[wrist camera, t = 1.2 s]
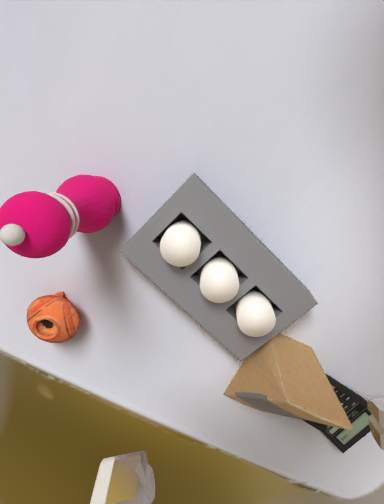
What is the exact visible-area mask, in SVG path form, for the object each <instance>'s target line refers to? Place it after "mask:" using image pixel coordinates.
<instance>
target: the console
mask: <svg viewBox="0 0 384 504" xmlns="http://www.w3.org/2000/svg"><path fill="white" fill-rule="evenodd" d="M180 220H185V221H189V222H192V223H193V224H194V225H195V226H196V227H197V228H198V229H199V230H200V233H201V247H200V253H199V256H198V258H197V259H196V260H195V261H194V262H193V263H192V264H190V265H188V266H184V267H178V266H174V265H171V264H169V263H168V262H167V261H166V260H165V259H164V258H163V257H162V255H161V252H160V241H161V239H162V237H163V235H164V234H165V232H166V230H167V229H168V227H169V226H170V225H171V224H172V223H174V222H176V221H180ZM119 252H121V253H122V254H123V255H124V256H125V257H126V258H127V259H128V260H129V261H130V262H131V263H133V264H134V265H135V266H136V267H137V268H138V269H139V270H140V271H141V272H142V273H144V274H145V275H146V276H147V277H148V278H149V279H150V280H151V281H152V282H154V283H155V284H156V285H157V286H158V287H159V288H160V289H161V290H162V291H164V292H165V293H166V294H167V295H168V296H169V297H170V298H171V299H172V300H174V301H175V302H176V303H177V304H178V305H179V306H180V307H181V308H182V309H183V310H184V311H186V312H187V313H188V314H189V315H190V316H191V317H192V318H193V319H195V320H196V321H197V322H198V323H199V324H200V325H201V326H202V327H203V328H205V329H206V330H207V331H208V332H209V333H210V334H211V335H212V336H213V337H214V338H216V339H217V340H218V341H219V342H220V343H221V344H222V345H223V346H224V347H226V348H227V349H228V350H229V351H230V352H231V353H232V354H233V355H234V356H236V357H237V358H238V359H239V360H240V361H242V360H243V359H245V358H246V357H247V356H249V355H250V354H251V353H253V352H254V351H255V350H257V349H258V348H259V347H261V346H262V345H263V344H265V343H266V342H267V341H269V340H270V339H271V338H273V337H274V336H275V335H277V334H278V333H279V332H281V331H282V330H283V329H285V328H286V327H287V326H289V325H290V324H291V323H293V322H294V321H295V320H297V319H298V318H299V317H301V316H302V315H303V314H305V313H306V312H307V311H309V310H310V309H311V308H313V307H314V306H315V305H317V304H318V303H317V302H316V300H315V299H314V297H313V296H312V294H311V293H310V291H309V290H308V289H307V288H306V287H305V286H304V285H303V284H302V283H301V282H300V281H299V280H298V279H297V278H296V277H295V276H294V275H293V274H292V273H291V272H290V271H289V270H288V269H287V268H286V267H285V266H284V264H283V263H282V262H281V261H280V260H279V259H278V258H277V257H276V256H275V255H274V254H273V253H272V252H271V251H270V250H269V249H268V248H267V247H266V246H265V245H264V244H263V243H262V242H261V241H260V240H259V239H258V238H257V237H256V236H255V235H254V234H253V233H252V232H251V231H250V230H249V229H248V227H247V226H246V225H245V224H244V223H243V222H242V221H241V220H240V219H239V218H238V217H237V216H236V215H235V214H234V213H233V212H232V211H231V210H230V209H229V208H228V207H227V206H226V205H225V204H224V203H223V202H222V201H221V200H220V199H219V198H218V197H217V196H216V195H215V194H214V193H213V192H212V191H211V189H210V188H209V187H208V186H207V185H206V184H205V183H204V182H203V181H202V180H201V179H200V178H199V177H198V176H197V175H196V174H195V173H194V174H193V175H192V176H191V177H190V178H189V179H188V180H187V181H186V182H185V183H184V184H183V185H182V186H181V187H180V188H179V189H178V190H177V191H176V192H175V193H174V194H173V195H172V196H171V198H170V199H169V200H168V201H167V202H166V203H165V204H164V205H163V206H162V207H161V208H160V209H159V210H158V211H157V212H156V213H155V214H154V215H153V216H152V217H151V218H150V219H149V220H148V221H147V223H146V224H145V225H144V226H143V227H142V228H141V229H140V230H139V231H138V232H137V233H136V234H135V235H134V236H133V237H132V238H131V239H130V240H129V241H128V242H127V243H126V244H125V245H124V247H123V248H122V249H121V250H120V251H119ZM214 256H224V257H227V258H229V259H230V260H231V261H232V262H233V263H234V264H235V266H236V269H237V274H238V279H239V290H238V293H237V294H236V296H235V297H234V298H233V299H231V300H230V301H227V302H224V303H215V302H212V301H210V300H208V299H207V298H205V297H204V295H203V294H202V292H201V290H200V277H201V269H202V266H203V264H205V263H206V262H207V261H208V260H209V259H210V258H211V257H214ZM251 289H255V290H260V291H262V292H263V293H264V294H265V295H266V296H267V297H268V298H269V300H270V303H271V306H272V308H273V311H274V314H275V317H276V323H275V326H274V328H273V329H272V331H271V332H269V333H268V334H266V335H264V336H261V337H252V336H248V335H246V334H244V333H243V332H242V331H241V330H240V329H239V327H238V323H237V316H236V309H235V302H236V301H237V300H238V299H240V298H241V297H242V296H243V295H244V294H246V293H247V292H248V291H249V290H251Z"/></svg>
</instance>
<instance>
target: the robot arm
mask: <svg viewBox="0 0 384 504" xmlns="http://www.w3.org/2000/svg"><path fill="white" fill-rule="evenodd" d="M367 406H368V410H369V411H370V412H371V415H370V417H369V418H368V420H369V427H370V430H371V432H372V435H373V437H374V439H375V440H376V442H377V444H378V445H379V446H380V448H381V449H383V450H384V397H380V398H375V399H371V400H368V403H367ZM147 458H148V457H147V455H146V453H145V451H140V452H135V453H130V454H125V455H120V456H115V457H110V458H105V459H103V460H102V462H101V464H100V467H99V471H98V475H97V479H96V483H95V486H94V491H93V494H92V498H91V502H90V504H151V503H152V501H153V500H154V497H155V483H154V475H153V471H152V468H151V466H149V465H148V464H147Z"/></svg>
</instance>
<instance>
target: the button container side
mask: <svg viewBox="0 0 384 504" xmlns="http://www.w3.org/2000/svg"><path fill="white" fill-rule="evenodd" d="M235 309H236V316H237V323H238V327H239V329H240V330H241V331H242V332H243V333H244V334H246V335H248V336H252V337H261V336H264V335H266V334H268V333H269V332H271V331H272V329H273V328H274V326H275V323H276V317H275V314H274V311H273V308H272V306H271V303H270V300H269V298H268V297H267V296H266V295H265V294H264V293H263V292H262V291H260V290H255V289H251V290H249V291H248V292H247V293H246V294H244V295H243V296H242V297H241V298H240V299H238V300H237V301H236V302H235Z"/></svg>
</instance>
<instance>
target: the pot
mask: <svg viewBox="0 0 384 504" xmlns="http://www.w3.org/2000/svg"><path fill="white" fill-rule="evenodd" d="M63 295H64V292H59V293H57V294H55V295H47V296H42V297H39V298H37V299H36V300H34V301H33V302H32V303H31V304H30V306H29V308H28V310H27V323H28V326H29V329H30V330H31V332H32V333H33V334H34V335H35V336H36V337H38V338H39V339H41V340H43V341H46V342H50V343H60V342H64V341H67V340H69V339H71V338H72V337H73V336H74V335H75V334H76V332H77V331H78V329H79V326H80V315H79V313H78V310H77V309H76V307H75V306H74V305H73V304H72V303H71V302H70V301H69V300H67V299H65V298H63Z"/></svg>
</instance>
